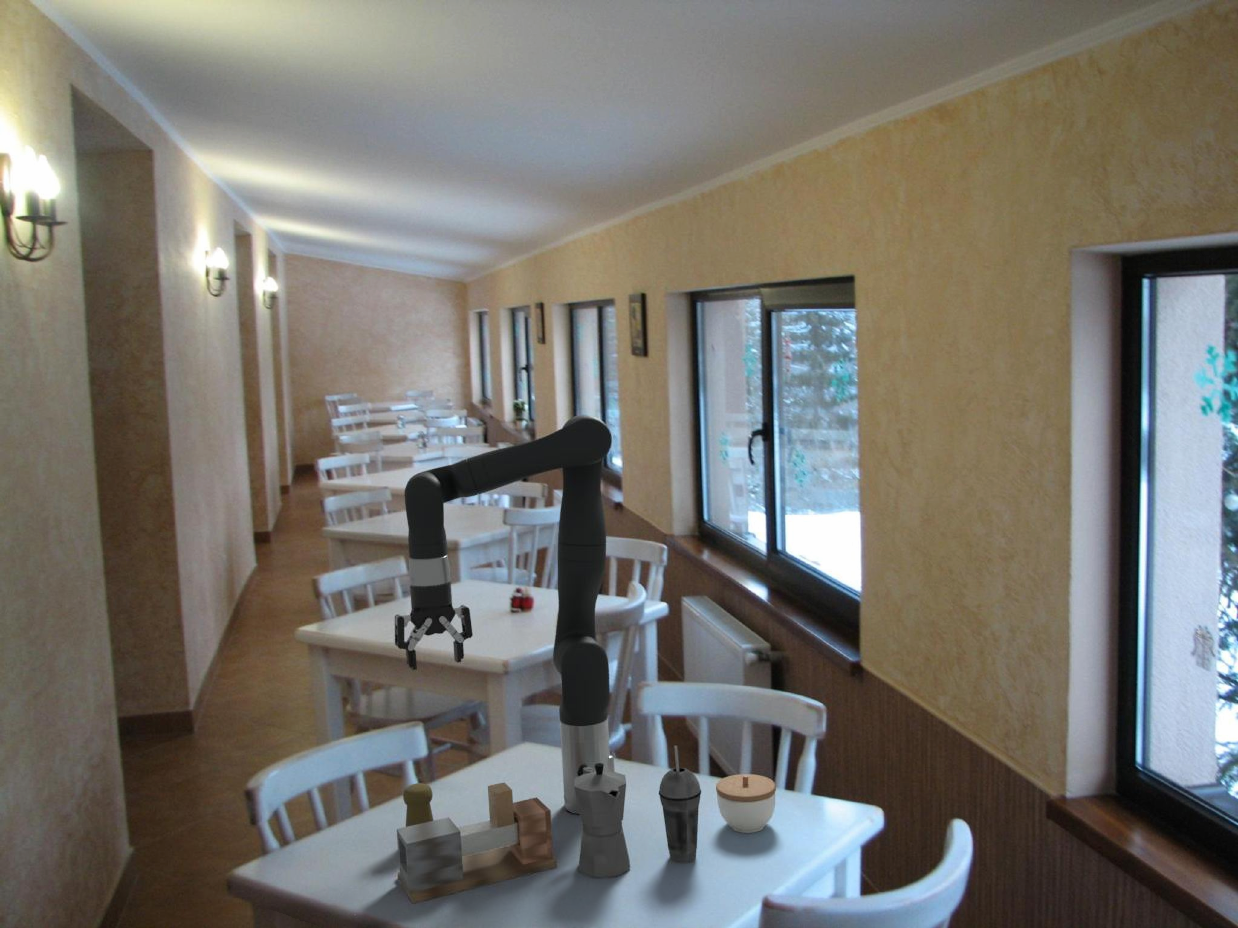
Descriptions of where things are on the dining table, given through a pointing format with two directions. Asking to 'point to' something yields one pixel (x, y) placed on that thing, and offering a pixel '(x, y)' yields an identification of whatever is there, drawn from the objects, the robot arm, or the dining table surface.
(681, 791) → the beverage cup
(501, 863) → the block assembly on base
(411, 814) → the cork
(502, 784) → the two-tone wooden block
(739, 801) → the lidded jar
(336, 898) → the dining table surface
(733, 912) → the dining table surface
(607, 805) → the coffeepot
